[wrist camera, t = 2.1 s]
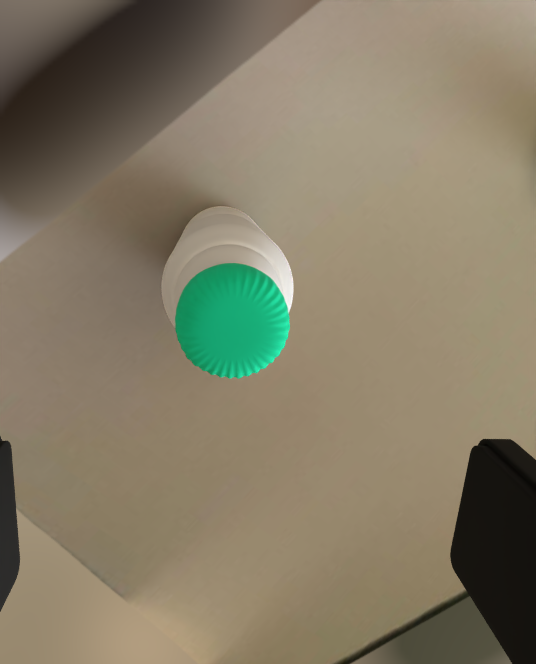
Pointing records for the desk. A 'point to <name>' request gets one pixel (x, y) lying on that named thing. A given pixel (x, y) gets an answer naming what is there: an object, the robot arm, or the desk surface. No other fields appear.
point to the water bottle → (228, 293)
